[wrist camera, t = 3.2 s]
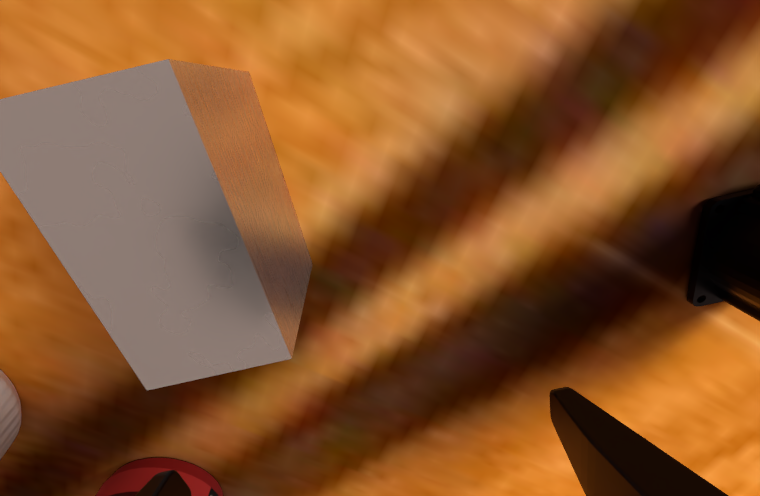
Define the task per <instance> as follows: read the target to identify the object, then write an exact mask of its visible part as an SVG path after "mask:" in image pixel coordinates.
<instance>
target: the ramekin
mask: <svg viewBox="0 0 760 496" xmlns="http://www.w3.org/2000/svg"><path fill="white" fill-rule="evenodd" d="M21 417H22V413H21V403H20V399H19V396H18V393H17V391H16V389H15V387H14V385H13V384H12V382H11V381H10V379H9V378H8V377H7V376H6V375H5V373H4V372H3V371H2V370H1V369H0V460H1V458H2V457H3V456H4V454H5V453H6V451H7V450H8V449H9V447H10V446H11V444H12V443H13V441H14V440H15V438H16V436H17V434H18V432H19V429H20V426H21Z"/></svg>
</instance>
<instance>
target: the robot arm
mask: <svg viewBox="0 0 760 496" xmlns="http://www.w3.org/2000/svg"><path fill="white" fill-rule="evenodd" d="M716 207H717V208H716ZM687 301H688V302H690V303H691V304H693V305H694V306H704V305H708V304H713V303H717V302H722V301H725V302H727V303H729V304H730V305H732V306H734V307H736V308H737V309H739V310H741V311H743V312H744V313H746V314H748V315H750V316H751V317H753V318H755V319H757V320H758V321H760V185H759V186H757V187H755V188H754V189H751V190H747V191H742V192H738V193H733V194H729V195H724V196H720V197H716V198H712V199H710V200H709V201H708V202H707V203H706V204H705V205H704V207H703V211H702V217H701V222H700V228H699V233H698V239H697V244H696V249H695V255H694V260H693V266H692V271H691V277H690V282H689V288H688V293H687ZM550 414H551V419H552V422H553V425H554V427H555V430H556V432H557V434H558V436H559V438H560V440H561V443H562V445H563V447H564V449H565V451H566V453H567V456H568V458H569V460H570V462H571V464H572V467H573V469H574V471H575V473H576V475H577V477H578V480H579V482H580V484H581V486H582V488H583V490H584V492H585V494H586V496H728V495H727V494H725V493H724V492H722V491H721V490H719V489H718V488H716V487H715V486H713V485H712V484H710V483H709V482H708V481H706V480H705V479H703V478H702V477H700V476H699V475H697V474H696V473H694V472H693V471H691V470H690V469H689V468H687V467H686V466H684V465H683V464H681V463H680V462H678V461H677V460H675V459H674V458H672V457H671V456H669V455H668V454H667V453H665V452H664V451H662V450H661V449H659V448H658V447H656V446H655V445H653V444H652V443H650V442H649V441H648V440H646V439H645V438H643V437H642V436H640V435H639V434H637V433H636V432H634V431H633V430H631V429H630V428H628V427H627V426H626V425H624V424H623V423H621V422H620V421H618V420H617V419H615V418H614V417H612V416H611V415H609V414H608V413H607V412H605V411H604V410H602V409H601V408H599V407H598V406H596V405H595V404H593V403H592V402H590V401H589V400H587V399H586V398H585V397H583V396H582V395H580V394H579V393H577V392H576V391H574V390H573V389H571V388H569V387H563V388H558V389H554V390H551V392H550ZM135 496H192V495H191V490H190V488H189V486H188V485H187V484H186V482H185V481H184V480H183V478H182V477H181V476H180V474H179V473H178V472H177V471H176V470H169V471H164V472H160V473H158V474H156V475H155V476H153V477H152V478H151V479H150V480H149V482H148V483H147V484H146V485H145V486H144V487H143V488H142V489H141V490H140V491H139V492H138V493H137V494H136V495H135Z"/></svg>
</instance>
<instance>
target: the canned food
mask: <svg viewBox="0 0 760 496" xmlns="http://www.w3.org/2000/svg"><path fill="white" fill-rule="evenodd" d="M169 470H176V471H177V472H178V473H179V474H180V476H181V477H182V478H183V480H184V481H185V482H186V484H187V485H188V486H189V488H190V490H191V495H192V496H223V492H222V488H221V487H220V485H219V483H218V482H217V481H216V480H215V479H214V477H213V476H212V475H210V474H209V473H208V472H206V471H205V470H204V469H202V468H200V467H198V466H196V465H194V464H191V463H188V462H186V461H182V460H177V459H172V458H147V459H140V460H136V461H133V462H130V463H128V464H126V465H124V466H122V467H120V468H119V469H118V470H117V471H116V472H115V473H114V474H113V475H112V476H110V477H109V478H108V479H107V480H106V481H105V482H104V483H103V485H102V486H101V488H100V489H99V491H98V493H97V494H96V496H135V495H136V494H137V493H138V492H139V491H140V490H141V489H142V488H143V487H144V486H145V485H146V484H147V483H148V482H149V480H150V479H151V478H152V477H153V476H155V475H156V474H158V473H160V472H164V471H169Z"/></svg>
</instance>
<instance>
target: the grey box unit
mask: <svg viewBox="0 0 760 496" xmlns="http://www.w3.org/2000/svg"><path fill="white" fill-rule="evenodd" d="M0 171H1V173H2V174H3V176H4V177H5V179H6V180H7V182H8V183H9V185H10V186H11V188H12V189H13V191H14V192H15V194H16V195H17V197H18V198H19V200H20V201H21V203H22V204H23V206H24V207H25V209H26V210H27V212H28V213H29V215H30V216H31V218H32V219H33V221H34V222H35V224H36V225H37V227H38V228H39V230H40V231H41V233H42V234H43V236H44V237H45V239H46V240H47V242H48V243H49V245H50V246H51V248H52V249H53V251H54V252H55V254H56V255H57V257H58V258H59V260H60V261H61V263H62V264H63V266H64V267H65V269H66V270H67V272H68V273H69V275H70V276H71V278H72V279H73V281H74V282H75V284H76V285H77V287H78V288H79V290H80V291H81V293H82V294H83V296H84V297H85V299H86V300H87V302H88V303H89V305H90V306H91V308H92V309H93V311H94V312H95V314H96V315H97V317H98V318H99V320H100V321H101V323H102V324H103V326H104V327H105V329H106V330H107V332H108V333H109V335H110V336H111V338H112V339H113V341H114V342H115V344H116V345H117V347H118V348H119V350H120V351H121V353H122V354H123V356H124V357H125V359H126V360H127V362H128V363H129V365H130V366H131V368H132V369H133V370H134V372H135V373H136V375H137V376H138V378H139V379H140V381H141V382H142V384H143V385H144V387H145V388H146V390H152V389H156V388H161V387H165V386H170V385H174V384H179V383H184V382H188V381H193V380H197V379H202V378H206V377H211V376H215V375H220V374H224V373H229V372H233V371H238V370H242V369H247V368H252V367H256V366H261V365H265V364H270V363H274V362H279V361H283V360H288V359H292V355H293V350H294V346H295V341H296V337H297V332H298V328H299V323H300V318H301V314H302V309H303V305H304V300H305V296H306V291H307V286H308V282H309V277H310V273H311V268H312V261H311V258H310V255H309V252H308V249H307V246H306V243H305V240H304V237H303V234H302V231H301V228H300V225H299V222H298V219H297V216H296V213H295V210H294V207H293V204H292V201H291V198H290V195H289V192H288V189H287V186H286V183H285V180H284V177H283V174H282V171H281V168H280V164H279V161H278V158H277V155H276V152H275V149H274V146H273V143H272V140H271V137H270V134H269V131H268V128H267V125H266V122H265V119H264V116H263V113H262V110H261V107H260V104H259V101H258V98H257V95H256V92H255V89H254V86H253V83H252V80H251V77H250V74H249V72H246V71H240V70H233V69H227V68H221V67H214V66H208V65H202V64H195V63H189V62H183V61H177V60H170V59H167V60H163V61H159V62H155V63H151V64H146V65H142V66H138V67H134V68H130V69H125V70H121V71H117V72H113V73H109V74H105V75H100V76H96V77H92V78H88V79H84V80H79V81H75V82H71V83H67V84H63V85H58V86H54V87H50V88H46V89H42V90H37V91H33V92H29V93H25V94H21V95H17V96H12V97H8V98H4V99H0Z"/></svg>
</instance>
